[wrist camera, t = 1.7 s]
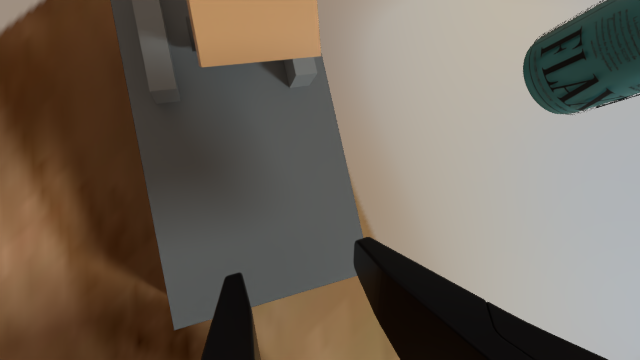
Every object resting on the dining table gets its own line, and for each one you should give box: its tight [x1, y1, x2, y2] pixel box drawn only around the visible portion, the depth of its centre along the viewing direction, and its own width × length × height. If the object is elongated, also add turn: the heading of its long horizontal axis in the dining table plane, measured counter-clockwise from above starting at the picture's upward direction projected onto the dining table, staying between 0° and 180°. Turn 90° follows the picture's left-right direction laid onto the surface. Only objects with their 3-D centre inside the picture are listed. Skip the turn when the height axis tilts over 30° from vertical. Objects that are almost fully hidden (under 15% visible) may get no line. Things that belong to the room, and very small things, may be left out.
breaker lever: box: [186, 0, 321, 67], centre depth 12 cm, size 2×3×8 cm
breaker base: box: [110, 0, 363, 330], centre depth 18 cm, size 16×9×6 cm, turn 13°
